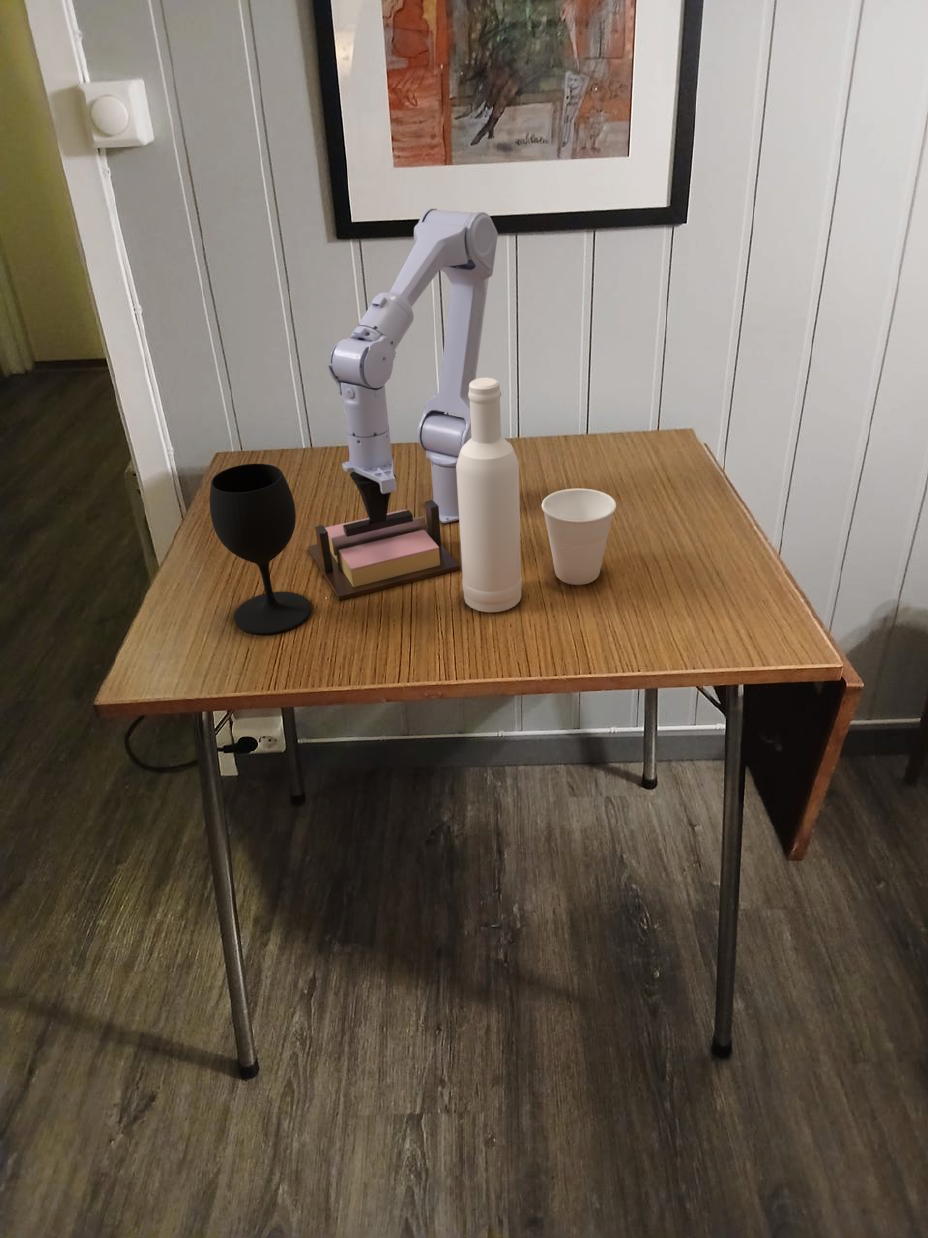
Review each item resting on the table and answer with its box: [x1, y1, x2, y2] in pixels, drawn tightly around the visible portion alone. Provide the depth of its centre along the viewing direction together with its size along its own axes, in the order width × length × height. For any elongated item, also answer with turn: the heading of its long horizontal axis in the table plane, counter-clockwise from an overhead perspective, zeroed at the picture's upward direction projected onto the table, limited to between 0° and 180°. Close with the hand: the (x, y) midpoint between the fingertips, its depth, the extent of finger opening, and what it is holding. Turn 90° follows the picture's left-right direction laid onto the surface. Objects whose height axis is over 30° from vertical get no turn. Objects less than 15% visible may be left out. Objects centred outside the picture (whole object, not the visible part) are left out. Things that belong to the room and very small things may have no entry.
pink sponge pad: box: [325, 508, 440, 587], centre depth 135 cm, size 13×14×3 cm
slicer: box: [307, 499, 461, 602], centre depth 134 cm, size 18×16×7 cm
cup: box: [540, 487, 617, 586], centre depth 127 cm, size 10×10×11 cm
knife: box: [332, 509, 426, 556], centre depth 134 cm, size 14×2×4 cm, turn 113°
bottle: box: [456, 377, 523, 614], centre depth 118 cm, size 8×8×30 cm
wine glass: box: [209, 463, 312, 636], centre depth 120 cm, size 10×10×20 cm
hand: (377, 519), depth 132 cm, fingers closed, pressing on knife
